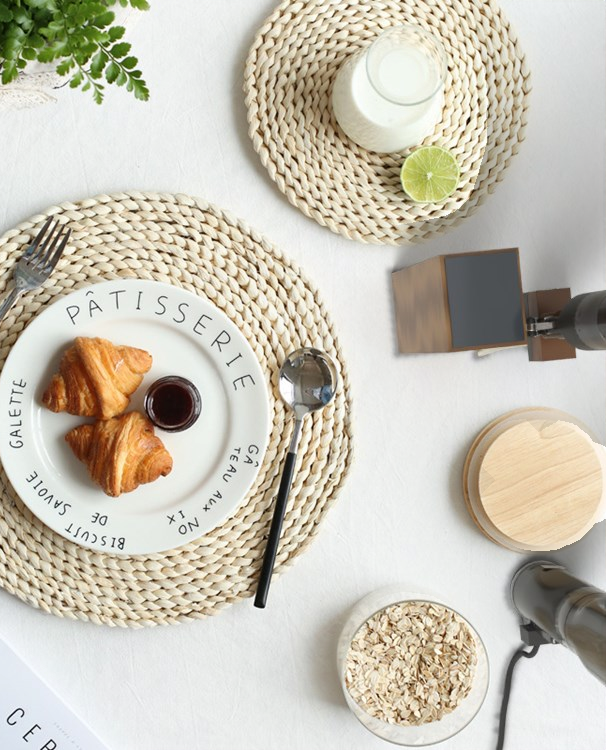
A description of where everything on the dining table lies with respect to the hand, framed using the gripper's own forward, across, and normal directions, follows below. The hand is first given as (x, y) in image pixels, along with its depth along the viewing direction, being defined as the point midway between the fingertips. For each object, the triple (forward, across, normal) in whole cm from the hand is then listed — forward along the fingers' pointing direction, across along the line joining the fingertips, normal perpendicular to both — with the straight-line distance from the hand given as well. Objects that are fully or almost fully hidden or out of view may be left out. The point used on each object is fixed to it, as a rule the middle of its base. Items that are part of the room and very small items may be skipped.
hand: (543, 325), depth 120 cm
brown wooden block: (0, 0, 0) cm, 0 cm away
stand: (+4, -16, +4) cm, 17 cm away
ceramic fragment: (+4, -3, 0) cm, 5 cm away
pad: (-18, -16, +4) cm, 24 cm away
